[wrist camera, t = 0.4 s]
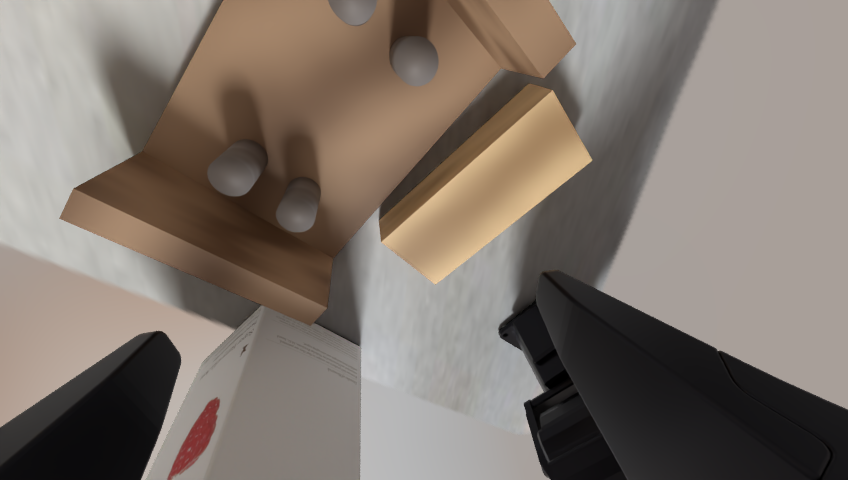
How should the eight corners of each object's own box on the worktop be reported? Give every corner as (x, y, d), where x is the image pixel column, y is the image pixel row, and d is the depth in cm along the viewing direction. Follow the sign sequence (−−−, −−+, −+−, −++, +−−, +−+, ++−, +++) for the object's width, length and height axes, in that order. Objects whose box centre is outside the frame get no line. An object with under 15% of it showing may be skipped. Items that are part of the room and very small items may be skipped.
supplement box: (268, 294, 23) (157, 609, 10) (363, 345, 27) (367, 608, 15) (197, 362, 25) (36, 687, 13) (295, 399, 29) (249, 666, 17)
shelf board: (564, 145, 21) (592, 160, 18) (427, 258, 24) (435, 284, 21) (526, 82, 18) (552, 90, 16) (378, 217, 21) (381, 242, 19)
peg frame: (518, 41, 17) (576, 43, 12) (320, 266, 22) (310, 326, 18) (339, -202, 12) (327, -350, 7) (138, 170, 17) (59, 218, 12)
